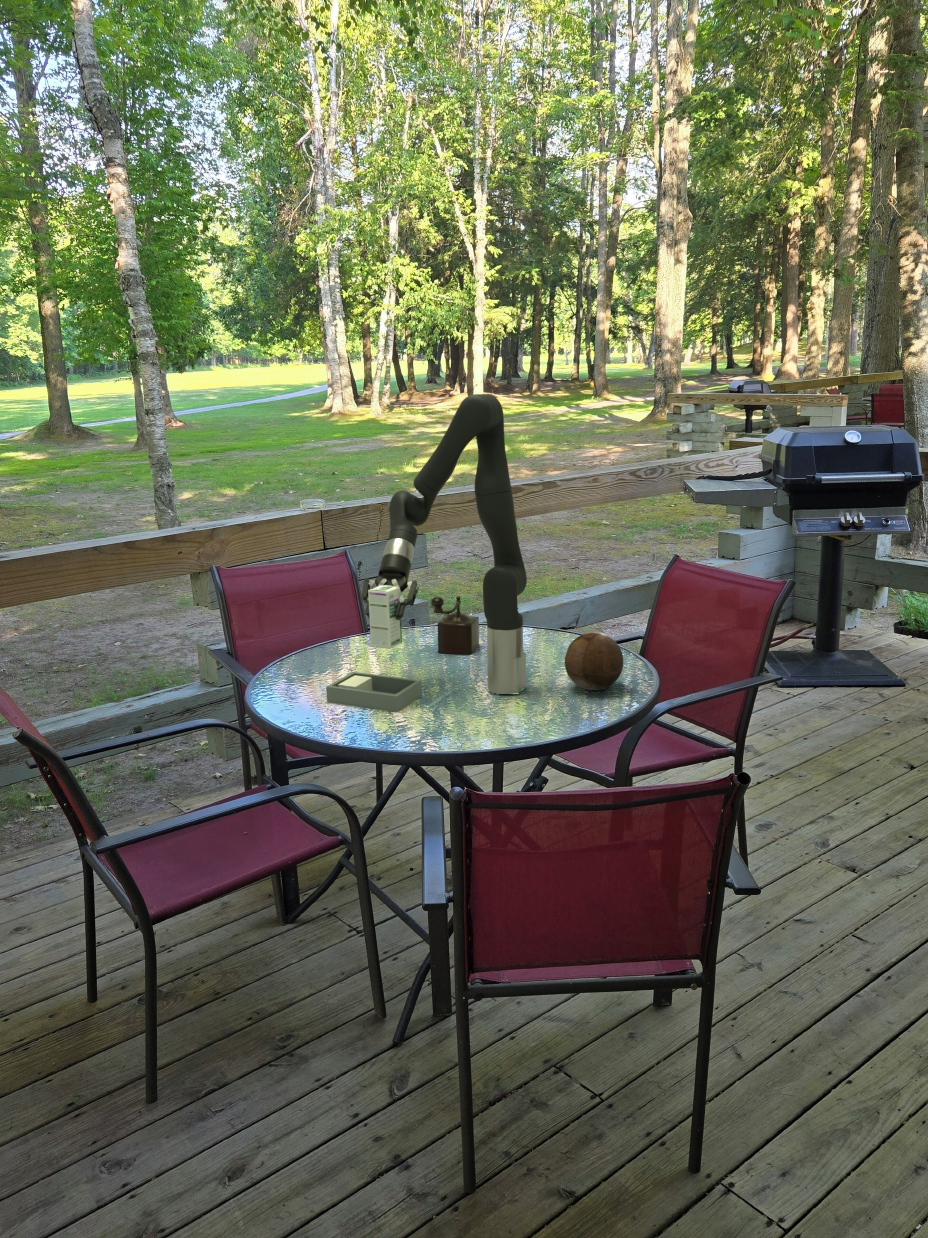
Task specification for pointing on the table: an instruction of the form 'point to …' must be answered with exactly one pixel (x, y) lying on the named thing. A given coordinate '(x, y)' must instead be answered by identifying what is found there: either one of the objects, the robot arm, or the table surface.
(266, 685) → the table surface
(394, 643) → the syrup box
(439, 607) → the manual coffee grinder
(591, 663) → the wooden sphere
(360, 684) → the cream rectangular block
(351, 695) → the tray
